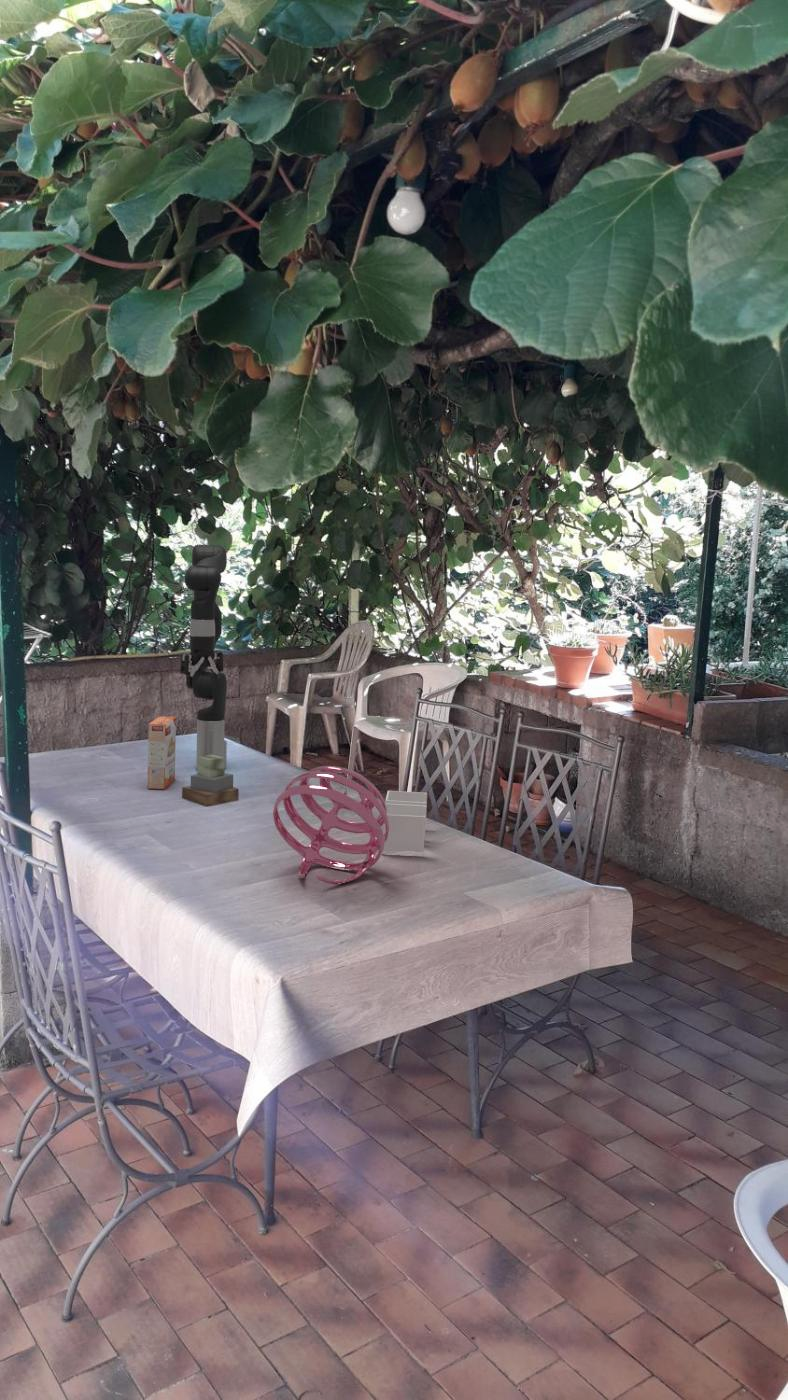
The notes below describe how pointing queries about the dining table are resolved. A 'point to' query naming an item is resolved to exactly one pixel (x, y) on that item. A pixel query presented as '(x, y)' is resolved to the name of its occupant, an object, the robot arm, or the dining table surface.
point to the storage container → (405, 821)
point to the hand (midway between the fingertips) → (201, 687)
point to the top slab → (212, 783)
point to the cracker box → (161, 752)
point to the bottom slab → (210, 796)
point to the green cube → (211, 766)
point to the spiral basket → (334, 820)
